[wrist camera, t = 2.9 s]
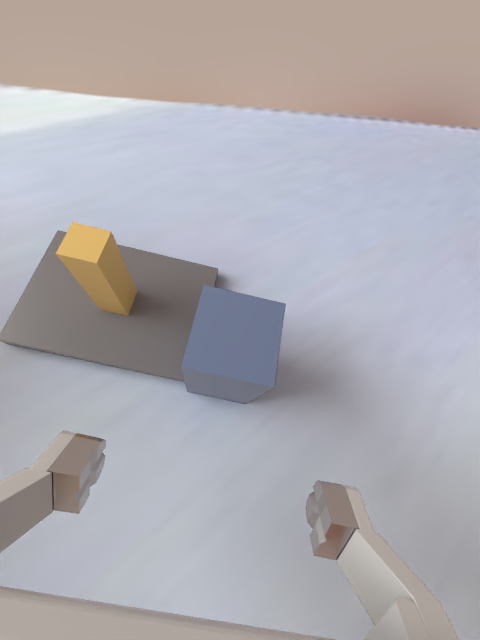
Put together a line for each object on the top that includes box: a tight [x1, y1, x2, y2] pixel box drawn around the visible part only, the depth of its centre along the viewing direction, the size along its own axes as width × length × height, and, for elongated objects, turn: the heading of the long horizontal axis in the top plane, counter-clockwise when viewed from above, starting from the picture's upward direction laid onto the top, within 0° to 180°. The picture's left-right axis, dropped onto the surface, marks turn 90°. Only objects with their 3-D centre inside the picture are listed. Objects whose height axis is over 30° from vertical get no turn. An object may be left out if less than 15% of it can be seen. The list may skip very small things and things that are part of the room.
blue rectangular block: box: [181, 285, 286, 404], centre depth 19 cm, size 5×5×9 cm
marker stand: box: [0, 222, 218, 382], centre depth 20 cm, size 14×10×8 cm
